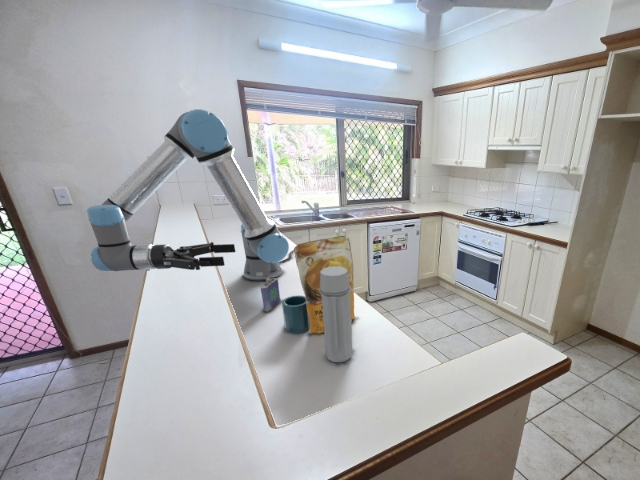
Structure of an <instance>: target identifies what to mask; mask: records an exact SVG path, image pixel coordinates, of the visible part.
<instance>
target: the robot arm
mask: <svg viewBox="0 0 640 480" xmlns="http://www.w3.org/2000/svg"><path fill="white" fill-rule="evenodd" d="M163 140H164V141H163V143H161V144H160V145H159V146H158V147H157V149H156V150H155V151H154V152H152V154H150V155H149V157H148V158H147V159H145V160H144V162H142V164H141V165H139V166H138V167H137V168H136V169H135V170H134V172H132V173H131V174H130V176H129V177H127V178H126V180H124V181H123V183H122V184H120V186H118V188H117V189H116V190H114V191H113V193H111V194H110V195H109V197H108V198H107V199H106V200H105V201H104V202H102V204H99V205H92V206H89V207H87V209H86V213H87V217H88V222H89V223H90V225H91V228H92V232H93V234H94V237H95V240H96V242H97V246H95V247H93V249H92V250H91V252H90V256H91V258H90V261H91V264H92V265H93V267H94V268H95V269H97V270H99V271H102V272H122V271H123V272H125V271H142V270H146V271H148V272H149V271H151V270H156V269H157V270H167V269H171V268H175V269H182V270H190V271H193V270H196V271H200V270H201V268H206V267H207V268H208V267H224V266H225V265H226V264H225V260H224V256H204V257H202V255H207V254H211V253H213V254H221V253H222V254H227V253H228V254H229V253H236V247H235V244H234V243H226V244H224V243H223V244H214V241H211V242H207V243H201V244H200V243H199V244H194V245H185V246H179V248H176V249H173V248H172V246H170V245H169V244H140V245H138V244H137V245H133V244H132V242H131V239H130V236H129V232H128V228H127V226H126V225H127V224H126V223H127V222H128V220H129V219H131V217H132V216H133V215H134V214H135V213H136V212H137V211H138V210H139V209H140V208H141V207H142V206H143V205H144V204H145V203H147V201H148V199H150V197H152V196H153V195H154V194H155V193H156V192H157V191H158V189H160V188H161V186H162V185H164V183H166V181H167V180H168V179H170V177H172V175H173V174H174V173H175V172H176V171H177V170H179V168H180V167H181V166H182V165H184V163H185V162H186V161H187V160H193V159H194V158H195V159H196V160H197V162H198V163H199V164H201V165H204V166H206V167H207V169H208V170H209V172H210V174H211V175H212V177H213V178H214V180H215V182H216V184H217V185H218V186H219V188H220V190H221V192H222V193H223V195H224V197H225V198H226V199H227V201H228V203H229V205H230V206H231V208H232V209H233V211H234V213H235V215H236V216H237V217H238V219H239V221H240V222H241V225H240V233H241V238H242V242H243V249H244V256H245V263H244V269H243V276H244V279H246V280H249V281H253V282H255V281H257V282H258V281H266V279H267V278H270V280H271V279H273V278H278V277H279V276H281V275H282V273H283V271H282V267H281V263H284V262H286V261H288V260H291V258H292V254H293V253H295V252H294V249H293V250H291V251H290V252H289V249H290V246H289V245H290V244H289V241H288V240H287V238H286V237H285V236H284V235H283V234H281V232H280V231H279V228H278V227H277V224H276V223H275V221H273V220H271V219H268V218H267V215H266V213H265V212H264V210H263V209H262V206H261V204H260V203H259V201H258V199H257V198H256V195H255V194H254V192H253V190H252V188H251V187H250V185H249V183H248V181H247V180H246V178H245V176H244V174H243V173H242V171H241V169H240V166H239V165H238V164H237V161H236V159H235V158H234V156H233V155H234V152H235V148H234V147H233V144H232V143H231V141H230V139H229V134H228V130H227V127H226V125H225V123H224V122H223V120H222V119H220V118H219V117H218V116H217V115H216V114H215V113H212V112H210V111H208V110H205V109H197V108H196V109H190V110H189V111H185V112H184V113H182V114H181V115H180V116H179V117H178V118H177V120H176V121H175V122H174V124H173V126H172V127H171V128H170V129H169V130H168V132H167V133H166V134H164V136H163ZM287 255H289V257H287V258H285V257H286V256H287ZM197 256H201V257H198V258H196V257H197ZM265 278H266V279H265Z"/></svg>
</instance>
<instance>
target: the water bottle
mask: <svg viewBox="0 0 640 480" xmlns="http://www.w3.org/2000/svg"><path fill="white" fill-rule="evenodd" d="M321 291H322V292H321ZM319 292H320V294H321V295H322V307H323V320H324V333H323V334H324V342H325V355H326V359H328V361H330V362H332V363H343V362H346V361H347V360H349V359H351V357H352V355H353V354H354V352H353V331H352V329H353V328H352V323H351V301H350V292H351V286H350V285H349V278H348V271H347V269H346V268H343V267H336V266H334V267H327V268H324V269H322V270H321V271H320V289H319Z"/></svg>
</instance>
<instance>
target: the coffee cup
mask: <svg viewBox="0 0 640 480" xmlns="http://www.w3.org/2000/svg"><path fill="white" fill-rule="evenodd" d="M281 305H282V306H281V308H282V315H283V322H284V329H285V331H286V332H288V333H292V334H299V333H304V332H306V331H309V329H310V319H309V314H308V311H307V305H306V298H305V295H291V296H288V297H285V298H284V299H283V300H282V301H281Z"/></svg>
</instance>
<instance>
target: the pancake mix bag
mask: <svg viewBox="0 0 640 480" xmlns="http://www.w3.org/2000/svg"><path fill="white" fill-rule="evenodd" d="M293 250H294V252H293V253H294V258H295V263H296V267H297V269H298V274H299V279H300V285H301V288H302V291H303V294H304V296H305V298H306V305H307V311H308V314H309V319H310V328H309V329H308V334H309V335H311V334H317V335H319V334H320V335H321V334H325V333H324V320H323V307H322V295H321V294H320V292H319V289H320V271H321V270H322V269H324V268H327V267H334V266H336V267H343V268H346V269H347V271H348V278H349V285H350V286H351V292H350V301H351V324H353V320H355V319H356V315H355V274H354V263H353V262H354V261H353V254H352V246H351V242H350V237H347V235H338V236H334V237H328V238H321V239H315V240H311V241H306V242H302V243H298V244H297V245H296V246H294V247H293ZM321 292H322V291H321Z"/></svg>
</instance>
